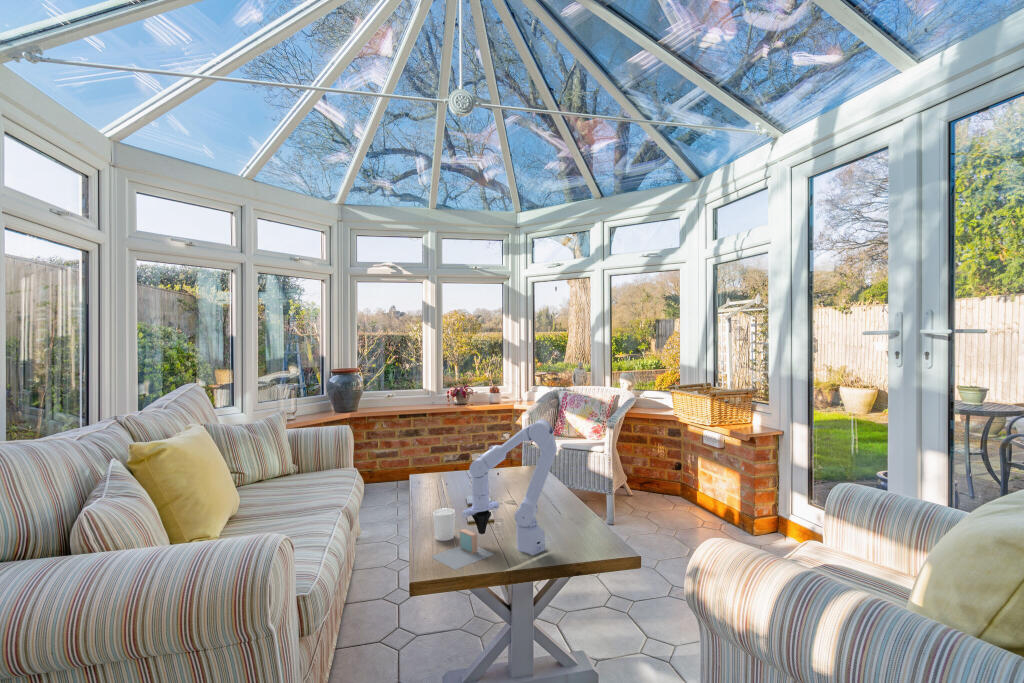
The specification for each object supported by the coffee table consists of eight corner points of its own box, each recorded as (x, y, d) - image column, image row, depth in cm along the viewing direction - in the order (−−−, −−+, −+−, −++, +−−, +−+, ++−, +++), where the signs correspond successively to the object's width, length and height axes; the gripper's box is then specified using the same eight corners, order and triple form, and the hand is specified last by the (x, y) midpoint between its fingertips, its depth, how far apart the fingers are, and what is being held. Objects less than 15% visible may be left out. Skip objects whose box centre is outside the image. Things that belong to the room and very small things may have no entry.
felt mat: (494, 556, 162) (494, 554, 162) (454, 572, 151) (454, 569, 151) (469, 545, 172) (469, 542, 172) (430, 558, 161) (430, 556, 161)
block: (477, 552, 164) (476, 534, 164) (472, 554, 162) (471, 535, 162) (465, 546, 169) (464, 528, 169) (460, 548, 168) (459, 530, 168)
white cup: (440, 545, 173) (439, 516, 173) (430, 538, 179) (429, 511, 179) (459, 539, 177) (458, 511, 178) (449, 533, 184) (448, 506, 184)
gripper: (489, 487, 178) (490, 524, 177) (456, 495, 168) (457, 535, 168) (502, 490, 172) (503, 529, 172) (468, 500, 163) (470, 541, 162)
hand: (481, 533), depth 170 cm, fingers closed
